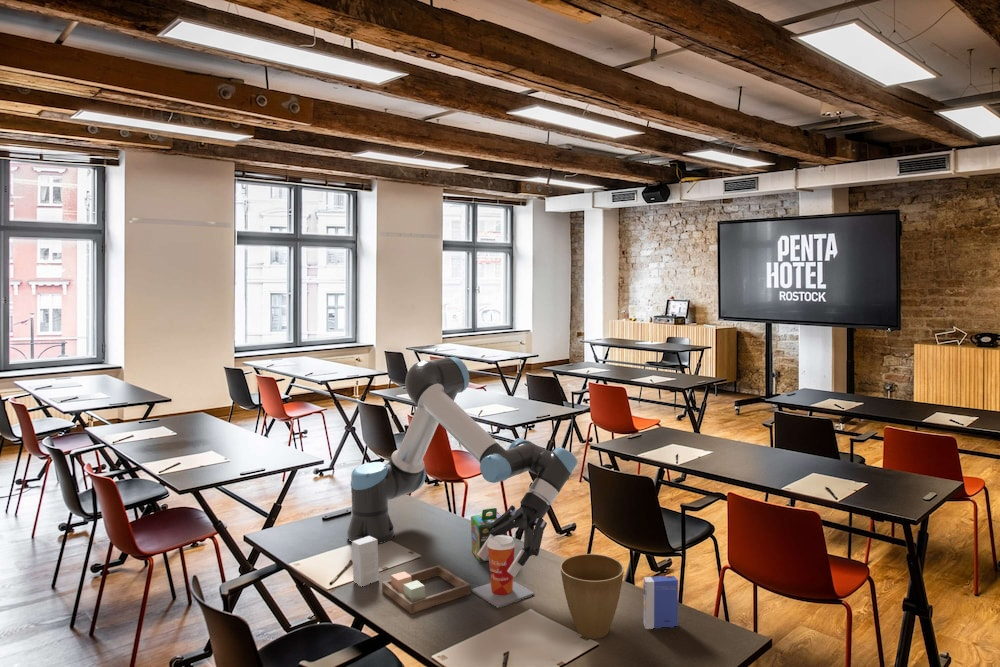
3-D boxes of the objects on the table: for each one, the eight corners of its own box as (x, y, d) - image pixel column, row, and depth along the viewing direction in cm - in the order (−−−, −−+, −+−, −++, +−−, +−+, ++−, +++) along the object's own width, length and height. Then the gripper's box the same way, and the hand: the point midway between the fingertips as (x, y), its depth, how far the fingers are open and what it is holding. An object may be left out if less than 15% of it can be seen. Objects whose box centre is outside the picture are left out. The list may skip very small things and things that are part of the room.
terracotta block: (391, 593, 186) (391, 575, 186) (404, 589, 189) (404, 571, 188) (398, 598, 183) (398, 580, 183) (411, 594, 185) (411, 576, 185)
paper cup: (481, 591, 185) (480, 540, 184) (501, 581, 191) (500, 532, 190) (503, 600, 180) (502, 547, 179) (522, 590, 185) (521, 539, 184)
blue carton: (673, 621, 169) (674, 573, 168) (677, 627, 166) (678, 578, 165) (642, 623, 168) (642, 575, 167) (645, 629, 165) (645, 580, 164)
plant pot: (561, 614, 173) (560, 552, 172) (621, 617, 171) (621, 554, 170) (560, 646, 158) (559, 579, 157) (626, 649, 157) (626, 581, 155)
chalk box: (499, 547, 217) (498, 501, 215) (508, 558, 208) (508, 510, 207) (470, 551, 214) (469, 504, 212) (479, 563, 205) (478, 514, 204)
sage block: (404, 602, 181) (403, 584, 180) (417, 598, 183) (417, 580, 183) (411, 608, 177) (411, 589, 177) (425, 604, 180) (424, 585, 179)
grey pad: (471, 591, 186) (471, 589, 186) (507, 579, 194) (507, 577, 193) (497, 608, 177) (497, 606, 177) (534, 595, 184) (534, 592, 184)
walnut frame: (382, 591, 187) (381, 582, 187) (439, 573, 198) (439, 565, 198) (411, 613, 174) (410, 604, 174) (470, 593, 185) (470, 584, 185)
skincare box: (370, 576, 197) (369, 535, 196) (379, 580, 194) (378, 539, 193) (352, 582, 193) (351, 541, 192) (360, 587, 190) (359, 545, 189)
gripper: (576, 518, 182) (532, 589, 175) (518, 495, 203) (477, 557, 195) (561, 503, 179) (516, 574, 171) (503, 480, 199) (460, 544, 191)
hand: (495, 565), depth 183 cm, fingers open, 13 cm apart
